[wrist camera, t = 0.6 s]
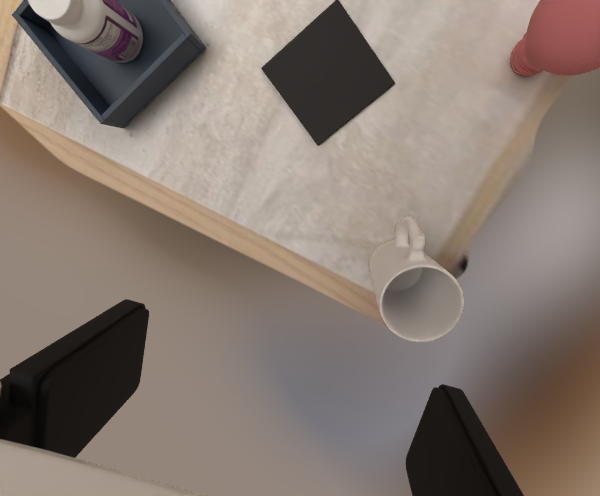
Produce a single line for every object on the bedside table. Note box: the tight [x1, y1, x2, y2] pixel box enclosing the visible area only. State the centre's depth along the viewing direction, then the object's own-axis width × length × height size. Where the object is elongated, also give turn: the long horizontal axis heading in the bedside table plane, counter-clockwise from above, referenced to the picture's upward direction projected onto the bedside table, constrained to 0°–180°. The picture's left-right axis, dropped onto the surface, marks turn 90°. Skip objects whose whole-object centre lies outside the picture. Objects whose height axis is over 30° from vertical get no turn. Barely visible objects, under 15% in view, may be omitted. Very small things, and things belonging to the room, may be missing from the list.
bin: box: [12, 0, 206, 128], centre depth 35 cm, size 13×13×4 cm
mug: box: [369, 216, 464, 342], centre depth 33 cm, size 10×7×12 cm, turn 2°
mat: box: [262, 0, 395, 145], centre depth 35 cm, size 10×10×1 cm
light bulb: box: [511, 0, 600, 76], centre depth 27 cm, size 7×7×12 cm
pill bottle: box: [28, 0, 143, 63], centre depth 31 cm, size 5×5×10 cm
